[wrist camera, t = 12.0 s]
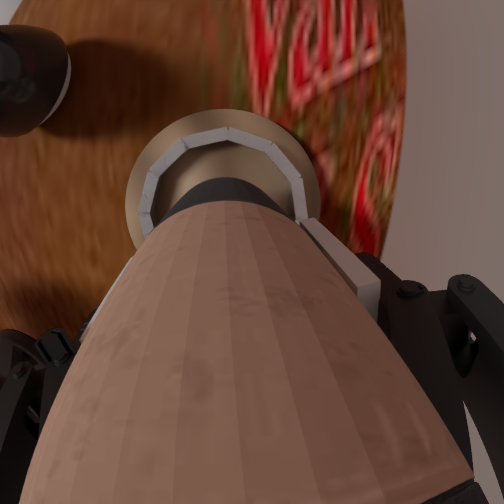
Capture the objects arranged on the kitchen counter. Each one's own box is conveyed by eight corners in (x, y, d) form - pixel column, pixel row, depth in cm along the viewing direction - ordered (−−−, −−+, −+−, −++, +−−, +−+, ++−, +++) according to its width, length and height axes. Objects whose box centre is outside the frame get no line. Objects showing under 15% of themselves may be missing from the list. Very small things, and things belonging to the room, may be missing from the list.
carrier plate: (161, 304, 28) (156, 321, 25) (111, 140, 21) (98, 140, 19) (323, 270, 28) (333, 284, 26) (299, 97, 22) (309, 92, 19)
